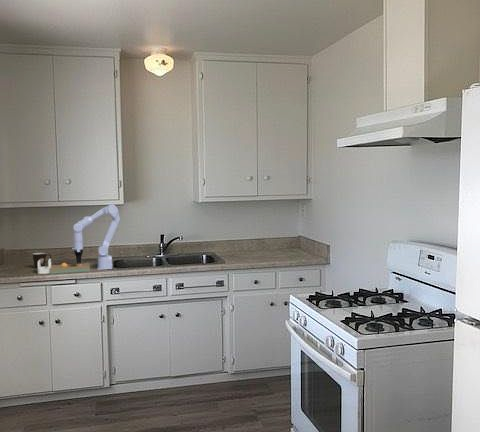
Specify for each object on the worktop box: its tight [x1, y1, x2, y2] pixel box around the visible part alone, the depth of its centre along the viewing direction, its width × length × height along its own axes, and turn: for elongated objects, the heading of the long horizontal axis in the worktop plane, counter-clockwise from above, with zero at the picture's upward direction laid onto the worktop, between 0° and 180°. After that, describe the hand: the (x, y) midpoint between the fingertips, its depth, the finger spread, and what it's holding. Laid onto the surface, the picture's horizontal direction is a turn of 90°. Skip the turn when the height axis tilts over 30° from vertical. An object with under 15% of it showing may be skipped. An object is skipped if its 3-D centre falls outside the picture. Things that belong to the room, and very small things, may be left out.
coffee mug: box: [32, 252, 52, 270], centre depth 349 cm, size 12×9×10 cm
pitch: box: [37, 258, 91, 275], centre depth 334 cm, size 32×12×8 cm, turn 108°
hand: (78, 261), depth 337 cm, fingers closed on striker, 3 cm apart
